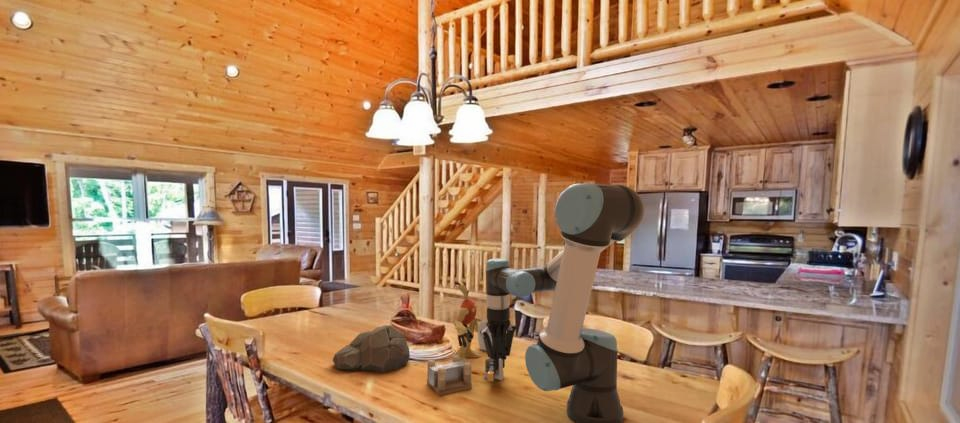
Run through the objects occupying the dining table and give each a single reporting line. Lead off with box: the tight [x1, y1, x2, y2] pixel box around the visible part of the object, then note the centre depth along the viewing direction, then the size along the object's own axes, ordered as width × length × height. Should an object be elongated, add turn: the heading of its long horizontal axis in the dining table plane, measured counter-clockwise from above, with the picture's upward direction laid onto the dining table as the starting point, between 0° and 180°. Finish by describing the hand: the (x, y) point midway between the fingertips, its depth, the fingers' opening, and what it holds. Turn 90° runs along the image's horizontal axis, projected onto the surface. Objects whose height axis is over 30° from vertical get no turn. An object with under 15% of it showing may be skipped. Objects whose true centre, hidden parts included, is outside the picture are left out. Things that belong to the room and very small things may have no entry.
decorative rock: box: [332, 324, 411, 374], centre depth 154 cm, size 27×22×15 cm
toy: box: [453, 281, 483, 363], centre depth 154 cm, size 23×9×30 cm, turn 168°
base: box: [484, 370, 505, 382], centre depth 142 cm, size 6×6×2 cm
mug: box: [476, 320, 492, 352], centre depth 173 cm, size 13×9×10 cm
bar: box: [429, 360, 466, 387], centre depth 134 cm, size 4×12×5 cm, turn 120°
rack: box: [426, 354, 473, 396], centre depth 134 cm, size 10×11×8 cm
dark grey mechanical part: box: [484, 358, 496, 382], centre depth 138 cm, size 13×6×4 cm, turn 171°
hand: (499, 378), depth 136 cm, fingers closed
